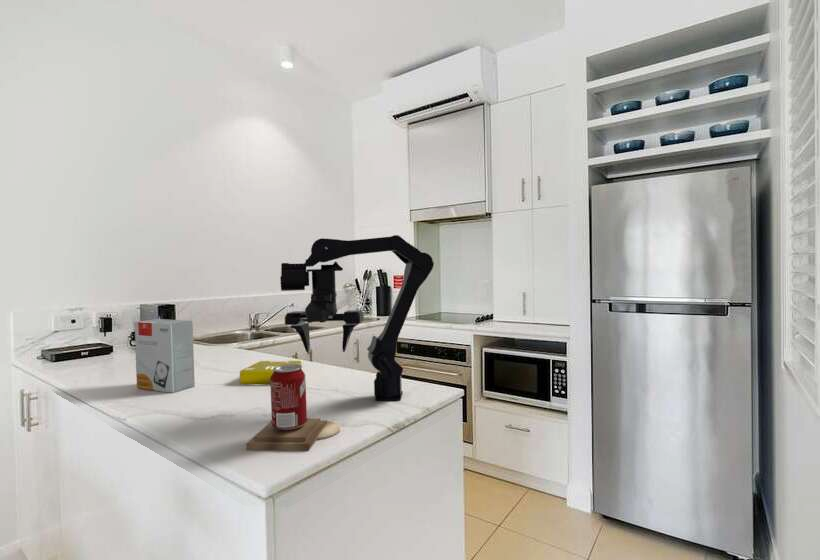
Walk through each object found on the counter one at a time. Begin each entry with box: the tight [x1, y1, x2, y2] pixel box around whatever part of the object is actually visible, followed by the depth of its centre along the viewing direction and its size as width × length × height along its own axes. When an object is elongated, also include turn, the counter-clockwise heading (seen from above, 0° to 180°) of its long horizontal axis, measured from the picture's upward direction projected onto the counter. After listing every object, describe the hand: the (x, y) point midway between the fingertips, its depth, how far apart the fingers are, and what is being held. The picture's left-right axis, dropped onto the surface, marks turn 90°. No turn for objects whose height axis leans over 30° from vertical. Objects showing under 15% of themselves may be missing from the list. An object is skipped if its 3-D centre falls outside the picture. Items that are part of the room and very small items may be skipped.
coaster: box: [316, 420, 341, 441], centre depth 86 cm, size 9×9×1 cm
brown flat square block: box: [245, 417, 328, 451], centre depth 83 cm, size 12×12×2 cm
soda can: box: [269, 364, 308, 431], centre depth 83 cm, size 7×7×12 cm
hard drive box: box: [133, 318, 196, 394], centre depth 123 cm, size 16×8×20 cm, turn 68°
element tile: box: [239, 360, 302, 385], centre depth 131 cm, size 15×15×5 cm
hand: (325, 351), depth 104 cm, fingers open, 9 cm apart
